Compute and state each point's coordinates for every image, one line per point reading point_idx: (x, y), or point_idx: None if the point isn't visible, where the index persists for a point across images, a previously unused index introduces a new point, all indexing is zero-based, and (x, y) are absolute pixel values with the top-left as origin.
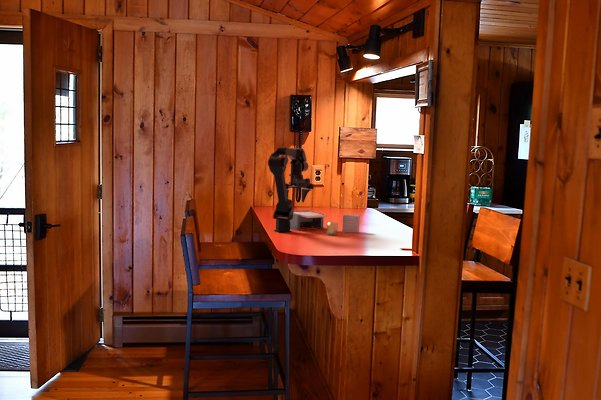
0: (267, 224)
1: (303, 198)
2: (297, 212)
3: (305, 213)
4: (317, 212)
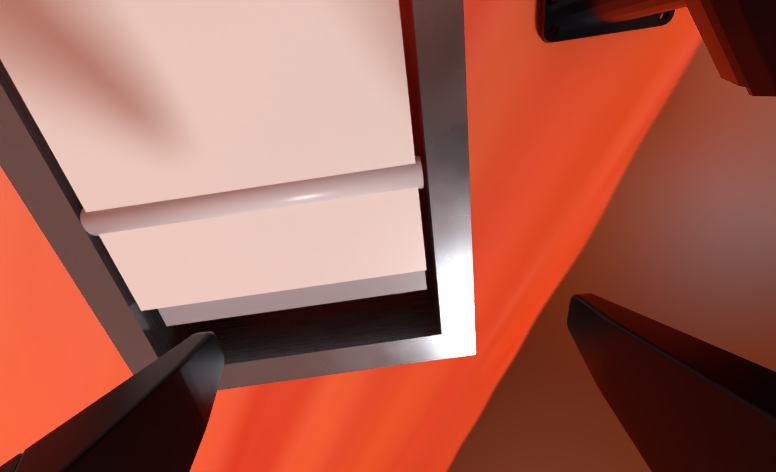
0: (501, 352)
1: (155, 403)
2: (341, 251)
3: (257, 135)
4: (40, 223)
